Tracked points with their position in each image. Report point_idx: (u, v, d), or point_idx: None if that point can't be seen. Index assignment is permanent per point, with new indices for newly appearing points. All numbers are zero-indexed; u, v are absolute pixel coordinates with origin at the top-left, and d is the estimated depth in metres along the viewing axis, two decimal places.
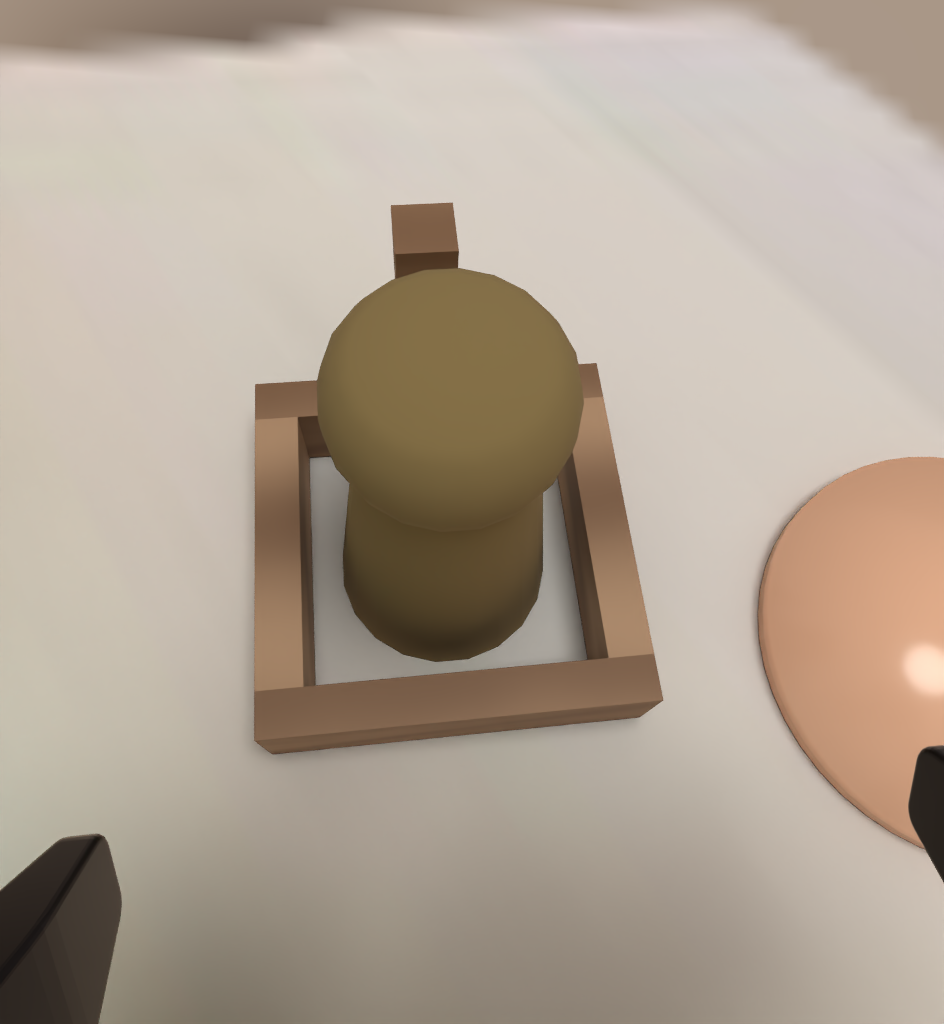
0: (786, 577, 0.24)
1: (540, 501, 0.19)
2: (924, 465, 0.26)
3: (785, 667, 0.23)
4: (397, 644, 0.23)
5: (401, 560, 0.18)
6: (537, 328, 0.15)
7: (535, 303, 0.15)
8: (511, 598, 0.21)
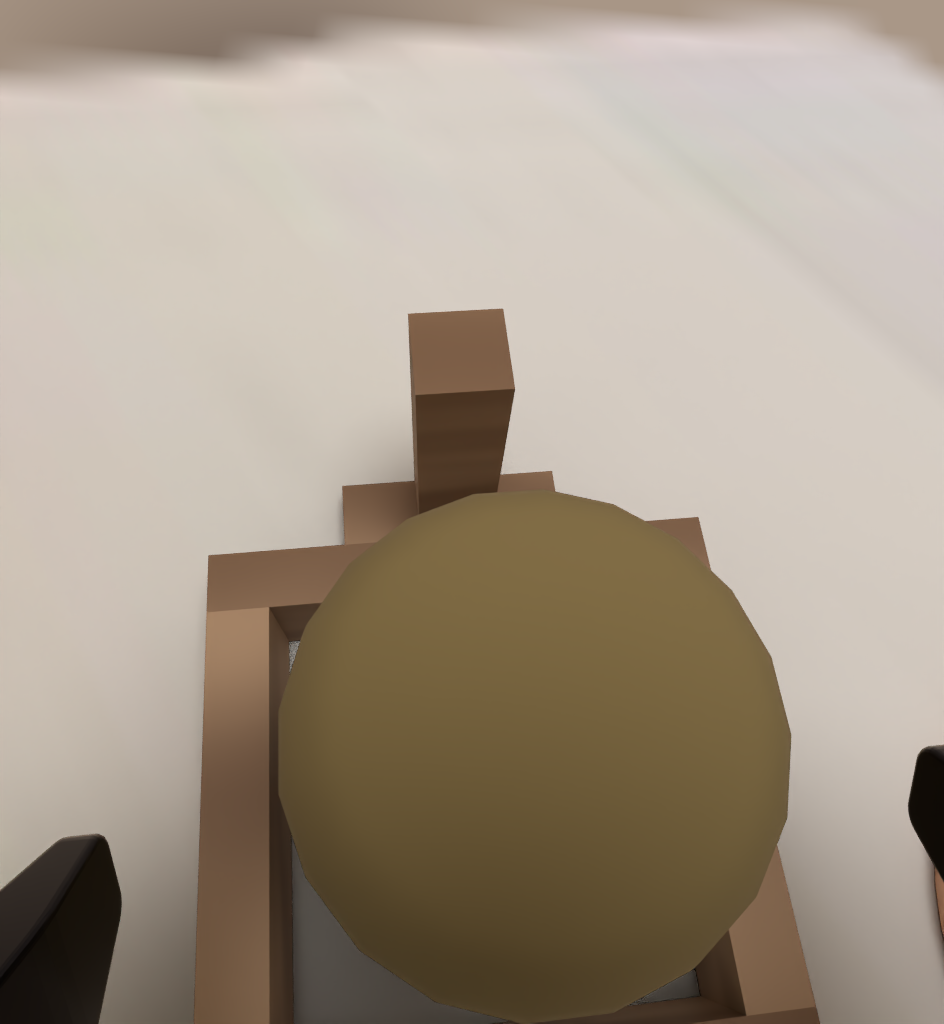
0: None
1: None
2: None
3: None
4: None
5: None
6: (712, 636, 0.07)
7: (698, 570, 0.08)
8: None
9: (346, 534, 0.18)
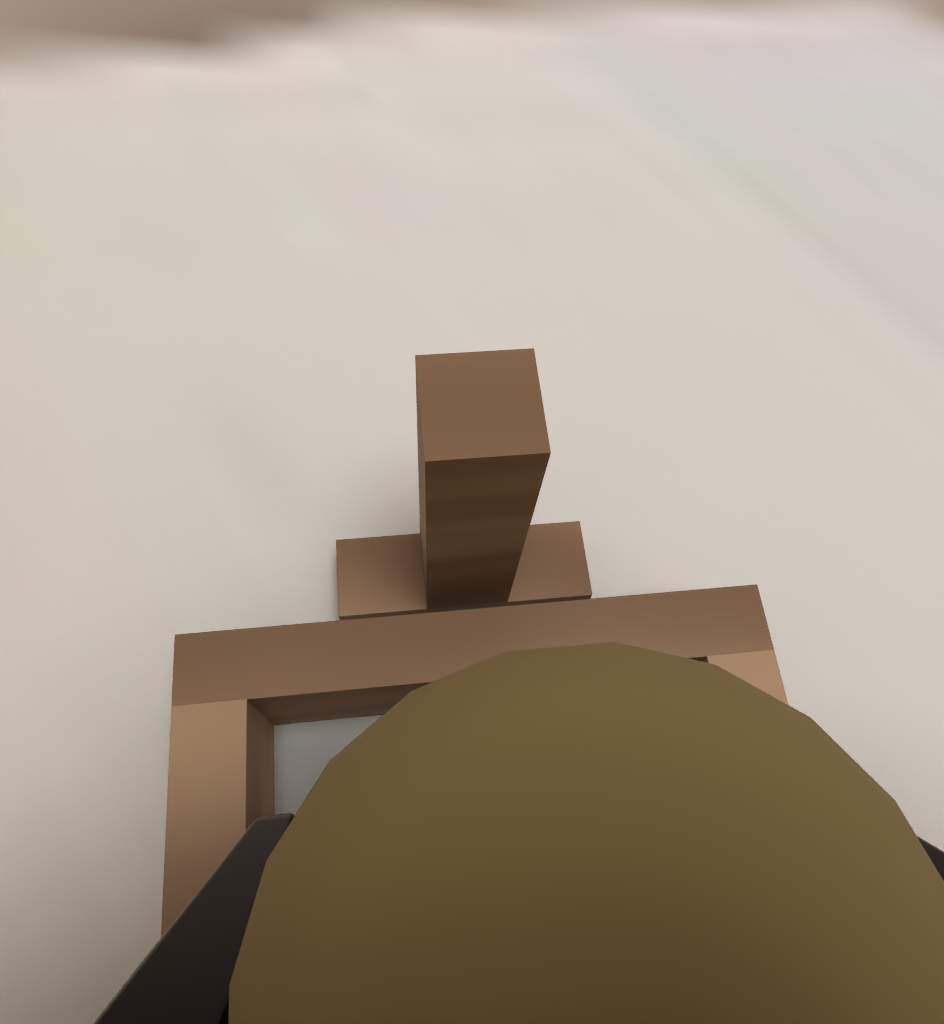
0: None
1: None
2: None
3: None
4: None
5: None
6: (899, 917, 0.05)
7: (861, 791, 0.05)
8: None
9: (340, 598, 0.16)
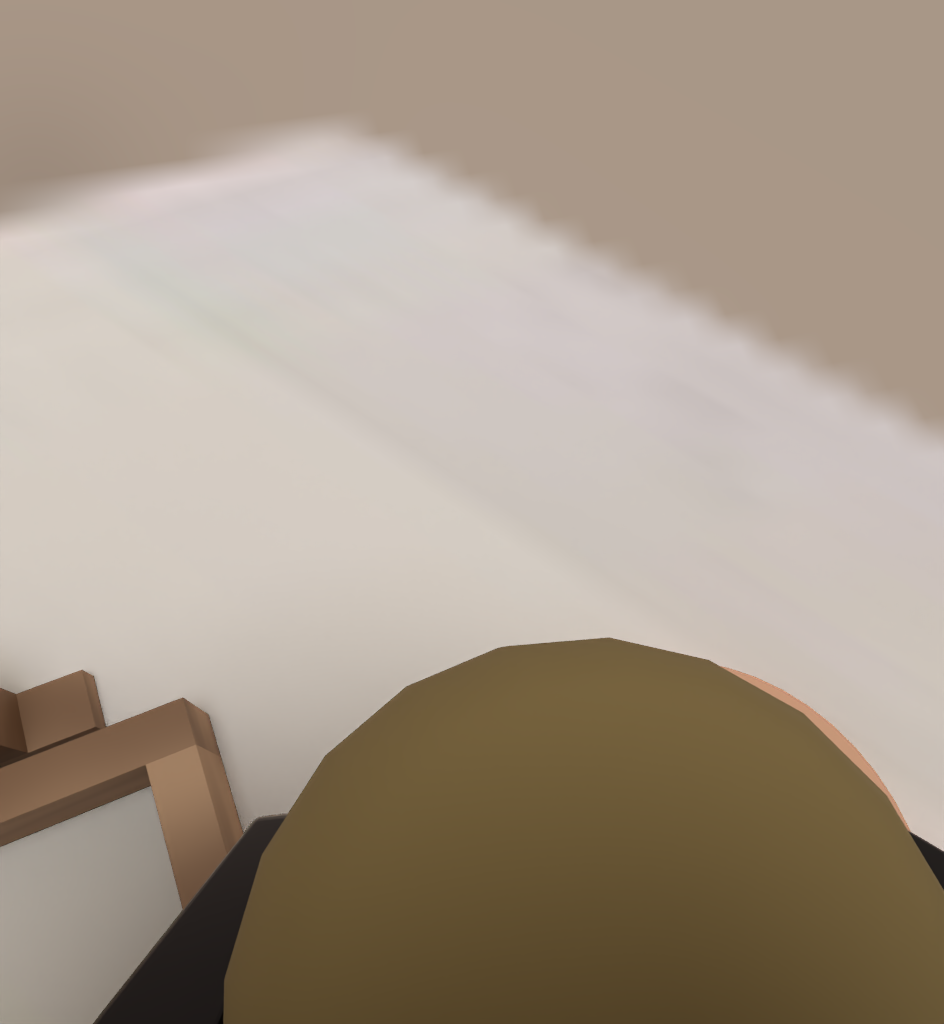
0: None
1: None
2: None
3: None
4: None
5: None
6: (889, 910, 0.05)
7: (852, 786, 0.05)
8: None
9: None
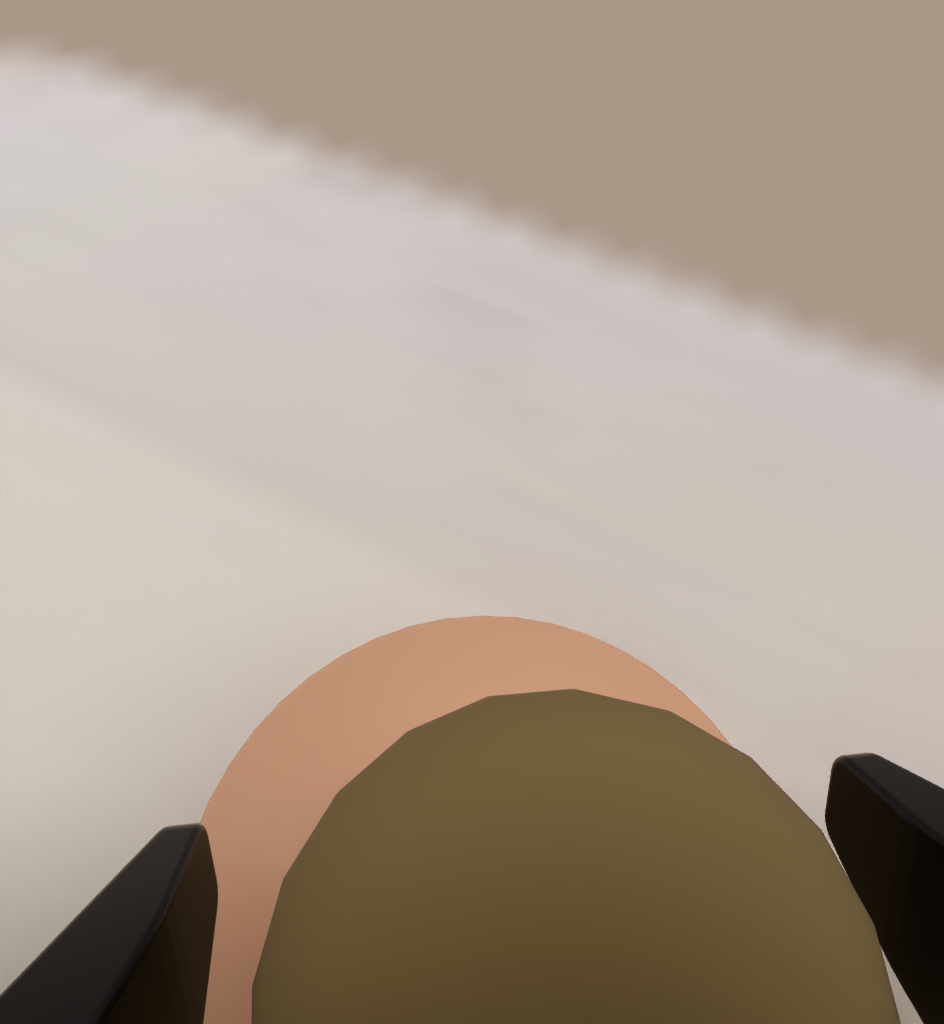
0: None
1: None
2: (367, 657, 0.17)
3: None
4: None
5: None
6: (811, 931, 0.06)
7: (786, 824, 0.06)
8: None
9: None
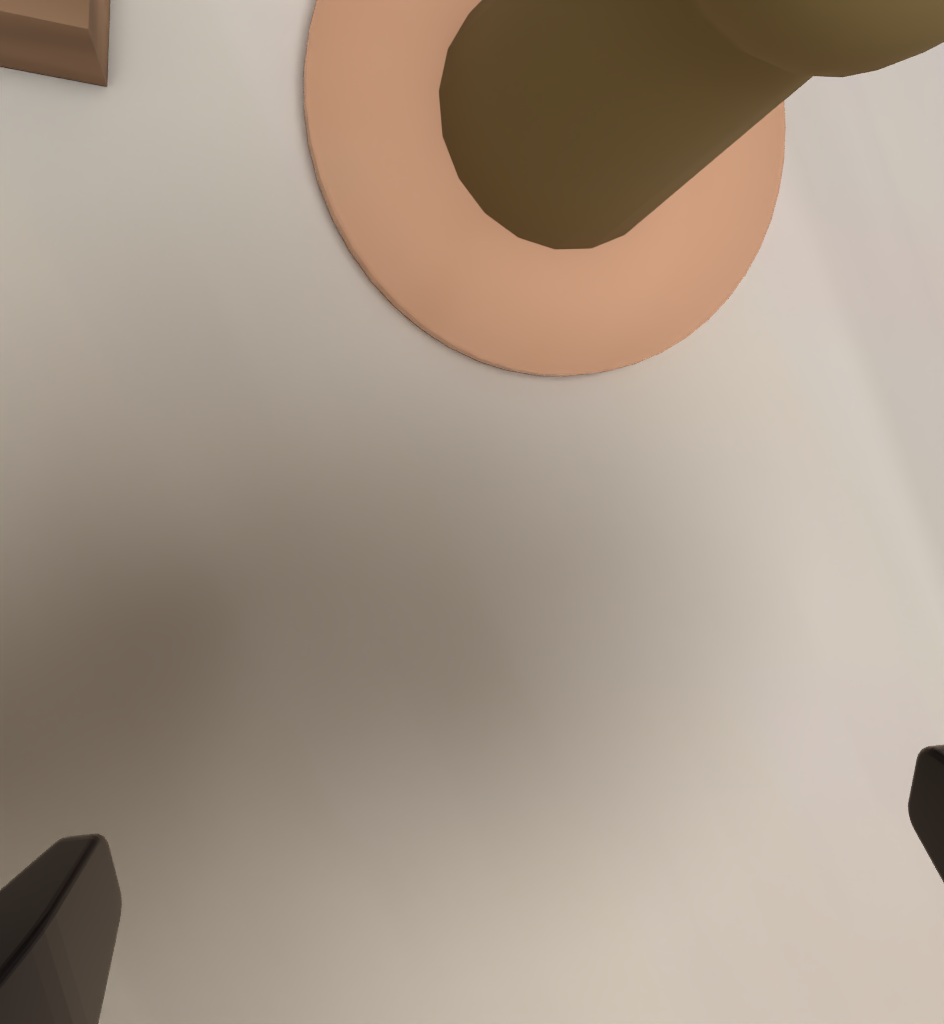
0: None
1: None
2: None
3: (318, 70, 0.17)
4: (463, 160, 0.18)
5: (589, 38, 0.13)
6: None
7: None
8: (627, 204, 0.17)
9: None
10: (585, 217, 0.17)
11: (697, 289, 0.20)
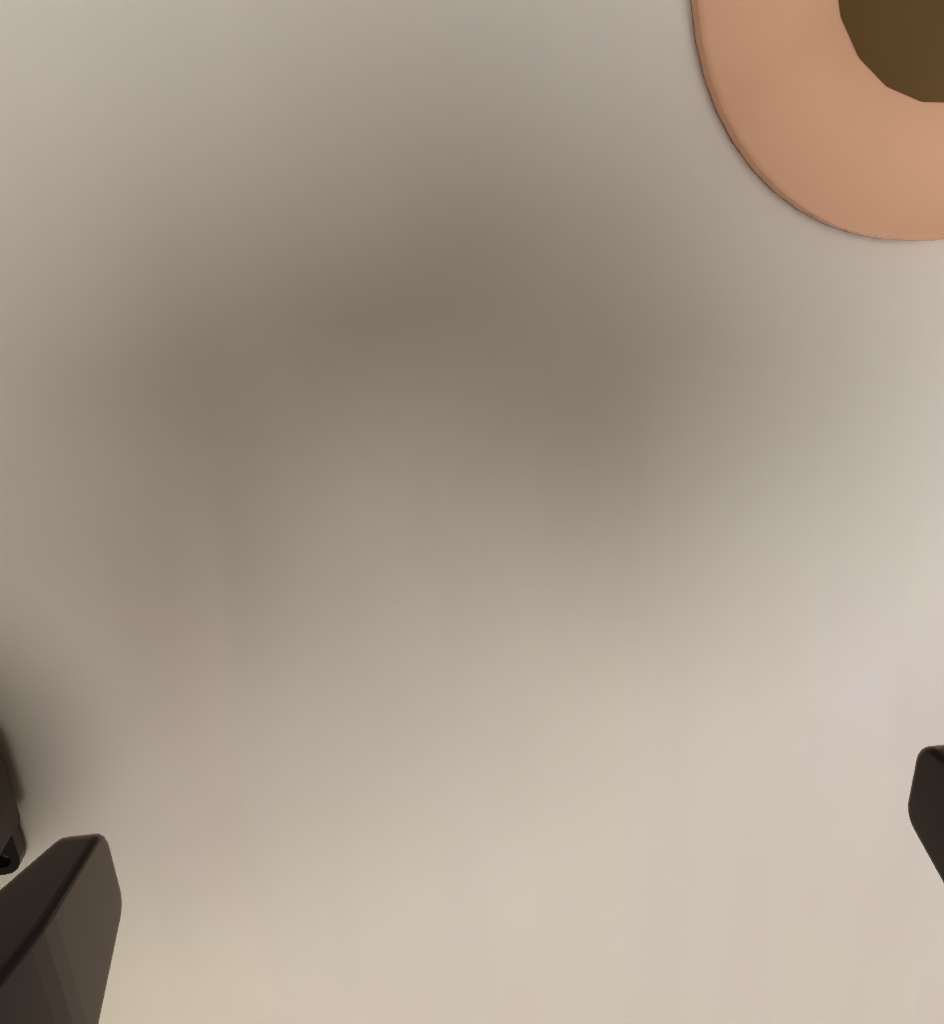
0: None
1: None
2: None
3: None
4: None
5: None
6: None
7: None
8: None
9: None
10: None
11: None
